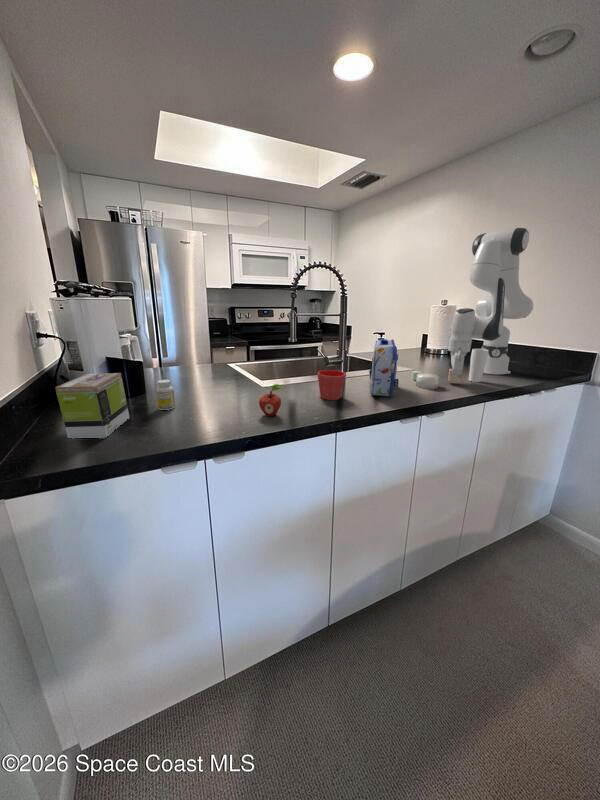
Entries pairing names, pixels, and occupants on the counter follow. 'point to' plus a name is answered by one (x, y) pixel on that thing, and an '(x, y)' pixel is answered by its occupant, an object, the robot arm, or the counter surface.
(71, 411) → the tea box
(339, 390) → the flower pot
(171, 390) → the supplement bottle
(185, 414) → the counter surface
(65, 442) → the counter surface
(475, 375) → the white tall block
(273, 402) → the apple
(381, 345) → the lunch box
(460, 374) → the maple cube
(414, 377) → the sage block
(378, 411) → the counter surface
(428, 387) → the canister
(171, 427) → the counter surface
